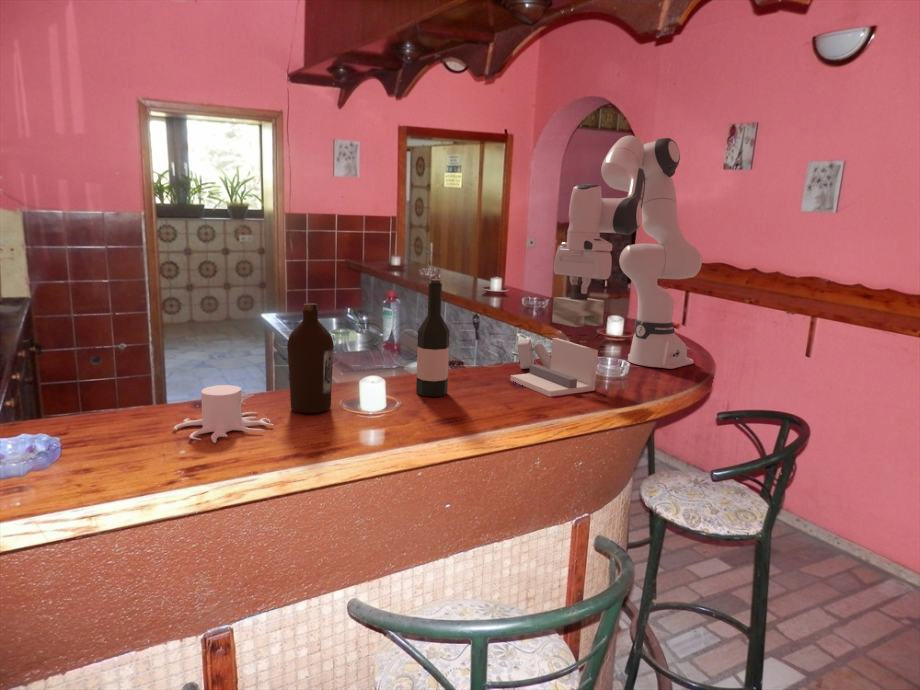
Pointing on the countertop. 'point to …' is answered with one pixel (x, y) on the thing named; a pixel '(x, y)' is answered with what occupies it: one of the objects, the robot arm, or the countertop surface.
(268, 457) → the countertop surface
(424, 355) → the wine bottle
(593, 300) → the cabinet block
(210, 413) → the tree stump
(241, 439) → the countertop surface
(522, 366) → the white block with rod
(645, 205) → the robot arm
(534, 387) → the board
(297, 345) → the olive oil
